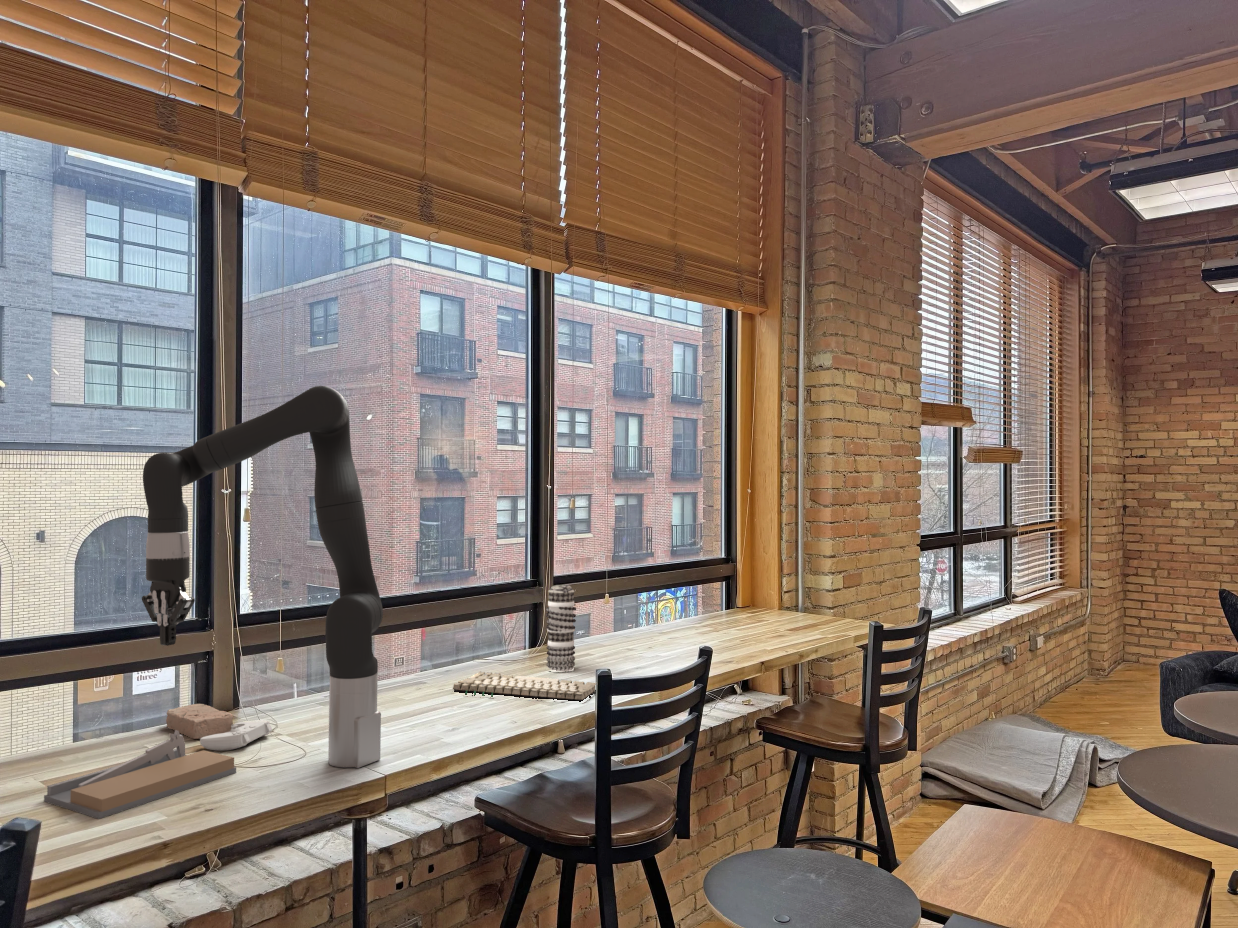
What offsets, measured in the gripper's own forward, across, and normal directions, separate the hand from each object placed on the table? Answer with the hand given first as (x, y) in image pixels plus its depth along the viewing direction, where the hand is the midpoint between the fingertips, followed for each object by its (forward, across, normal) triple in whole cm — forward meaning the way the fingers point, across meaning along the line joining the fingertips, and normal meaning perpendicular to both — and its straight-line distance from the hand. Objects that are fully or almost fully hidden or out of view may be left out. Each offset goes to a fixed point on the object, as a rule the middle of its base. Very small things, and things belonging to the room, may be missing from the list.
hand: (167, 644), depth 166 cm
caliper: (+23, -2, +8) cm, 24 cm away
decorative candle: (+25, -23, -112) cm, 117 cm away
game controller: (+24, +2, -18) cm, 30 cm away
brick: (+24, +17, -20) cm, 36 cm away
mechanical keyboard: (+26, -28, -85) cm, 93 cm away
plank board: (+24, -6, +8) cm, 26 cm away
